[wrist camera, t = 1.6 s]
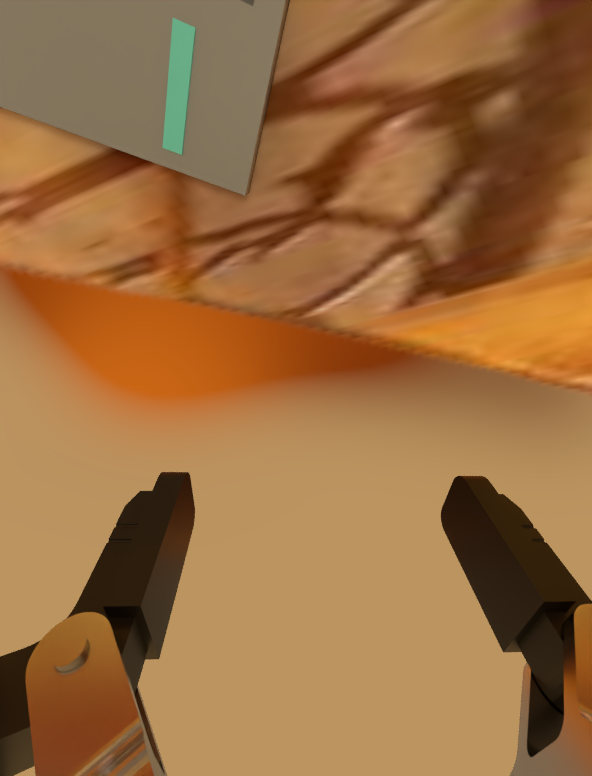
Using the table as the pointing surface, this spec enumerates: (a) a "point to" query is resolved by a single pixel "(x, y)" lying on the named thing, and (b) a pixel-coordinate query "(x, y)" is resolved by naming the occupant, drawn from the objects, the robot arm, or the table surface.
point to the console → (148, 76)
